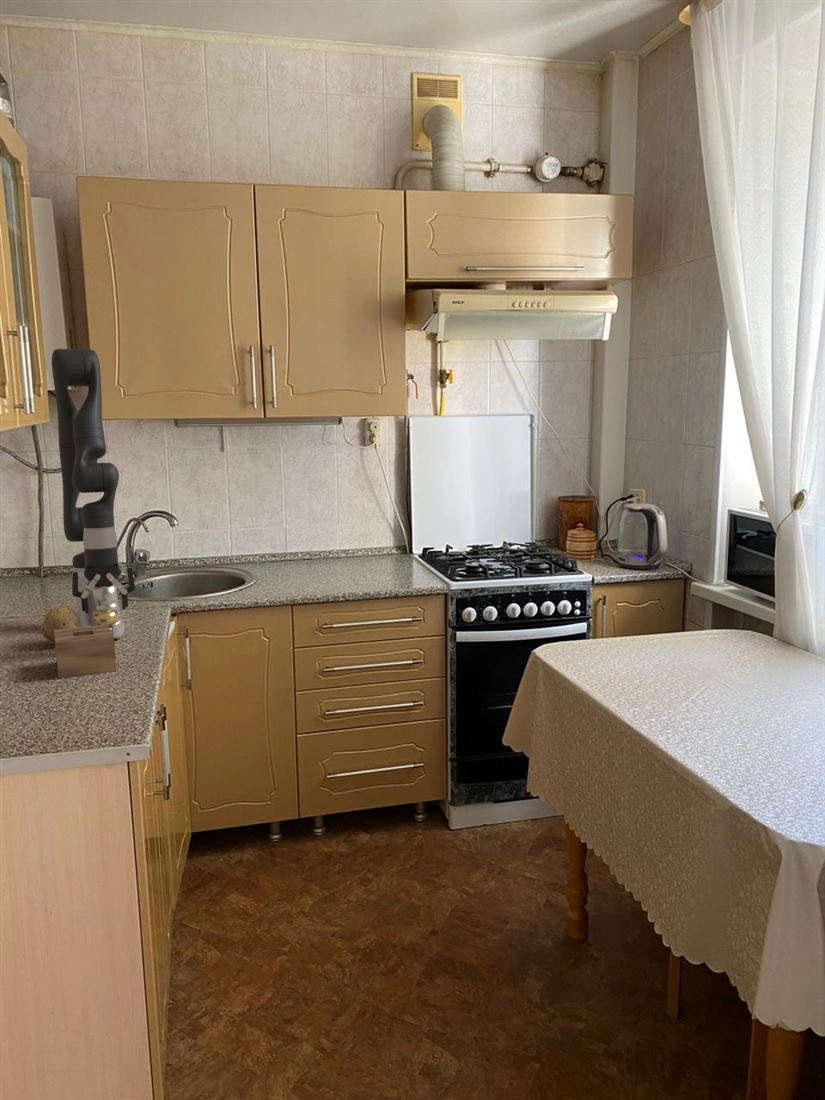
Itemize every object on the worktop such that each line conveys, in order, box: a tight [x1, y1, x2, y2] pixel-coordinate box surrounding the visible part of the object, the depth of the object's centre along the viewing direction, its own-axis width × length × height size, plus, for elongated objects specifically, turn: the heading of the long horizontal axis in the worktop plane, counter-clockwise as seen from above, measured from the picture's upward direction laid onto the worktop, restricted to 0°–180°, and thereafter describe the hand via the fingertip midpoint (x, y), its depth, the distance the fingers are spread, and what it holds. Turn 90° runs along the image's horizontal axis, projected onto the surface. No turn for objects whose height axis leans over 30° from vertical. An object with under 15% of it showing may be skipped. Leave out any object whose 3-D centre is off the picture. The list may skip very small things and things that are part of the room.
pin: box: [93, 609, 118, 646], centre depth 205 cm, size 6×6×10 cm
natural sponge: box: [40, 605, 80, 644], centre depth 211 cm, size 9×9×10 cm
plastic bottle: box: [92, 584, 125, 640], centre depth 215 cm, size 6×7×20 cm
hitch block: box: [54, 624, 117, 679], centre depth 191 cm, size 13×12×8 cm
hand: (105, 611), depth 204 cm, fingers open, 8 cm apart
